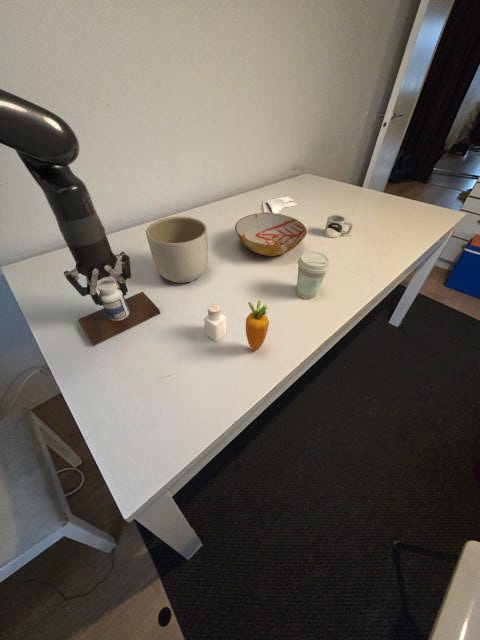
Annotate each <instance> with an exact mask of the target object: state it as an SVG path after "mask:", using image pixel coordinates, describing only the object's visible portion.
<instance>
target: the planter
mask: <svg viewBox="0 0 480 640" xmlns="http://www.w3.org/2000/svg"><path fill="white" fill-rule="evenodd" d="M145 236H146V239H147V243H148V247H149V251H150V253H151V257H152V260H153V263H154V265H155V268H156V270H157V272H158V273H159V274H160V276H161V277H163V278H164V279H166V280H168V281H170V282H173V283H178V284H184V283H189V282H192V281H195V280H197V279H198V278H200V277H201V276H202V275H203V274H204V273H205V272H206V270H207V267H208V264H209V263H208V262H209V244H208V227H207V224H206V223H204V222H203V221H202V220H200V219H198V218H195V217H190V216H170V217H165V218H161V219H159V220H156V221H154V222H153V223H151V224H149V225H148V226H147V227H146V231H145Z"/></svg>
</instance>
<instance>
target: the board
mask: <svg viewBox="0 0 480 640" xmlns="http://www.w3.org/2000/svg"><path fill="white" fill-rule="evenodd" d="M125 301H126V303H127V306H128V308H129V315H128V316H127V317H126V318H125V319H123V320H120V321H112V320H110V319H109V318H108V316H107V314H106V312H105V310H104V307H103V308H101V309H98V310H96V311H94V312H92V313H89V314H87V315H85V316H83V317H80V318H78V319H77V321H78V323H79V325H80V326H81V328H82V330H83V332H84V333H85V335H86V336H87V338H88V339H89V342H91V345H92V346H93V347H94V346H97V345H99V344H101V343H103V342H105V341H107V340H109V339H111V338H113V337H115V336H117V335H120V334H121V333H124V332H125V331H128V330H129V329H132V328H134V327H136V326H138V325H140V324H142V323H144V322H146V321H148V320H150V319H152V318H154V317H156V316H158V315H160V314H161V311H160V308H158V306H157V305H156V304H155V303H154V302H153V301H152V300H151V299H150V298H149V297H148V296H147V294H146V293H144V291H141V292H139V293H136V294H133V295H132V296H129V297H127V298H125Z"/></svg>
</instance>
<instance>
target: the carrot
mask: <svg viewBox="0 0 480 640" xmlns="http://www.w3.org/2000/svg"><path fill="white" fill-rule="evenodd" d="M247 304H248V306H249V307H250V310H251V312H250V313H249V315H247V317H246V319H245V335H246V338H247V343H248V345H249V347H250V349H251V350H252V351H253V352H257V351H259V349H260V348H261V346H262V345H263V344H264V341H265V339H266V338H267V334H268V330H269V324H270V320H269V318H268V316H267V315H266V314H268V311H267V310H268V305H267V304H264V305H262V307H261V304H262V300H258V301H257V303H256V309H255V307H254V304H253V303H252V302H251V301H249V302H248V303H247ZM260 307H261V308H260Z"/></svg>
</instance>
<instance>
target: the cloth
mask: <svg viewBox="0 0 480 640" xmlns="http://www.w3.org/2000/svg"><path fill="white" fill-rule="evenodd" d="M294 200H295V199H294V198H291V197H290V196H282V197H277V198H271V199H265V200H263V201H262V202H263V203H262V210H263V213H274V214H280V212H281V211H282V210H283V209H285V208H291V207H295V206H297V205H298V203H296V202H294Z"/></svg>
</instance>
